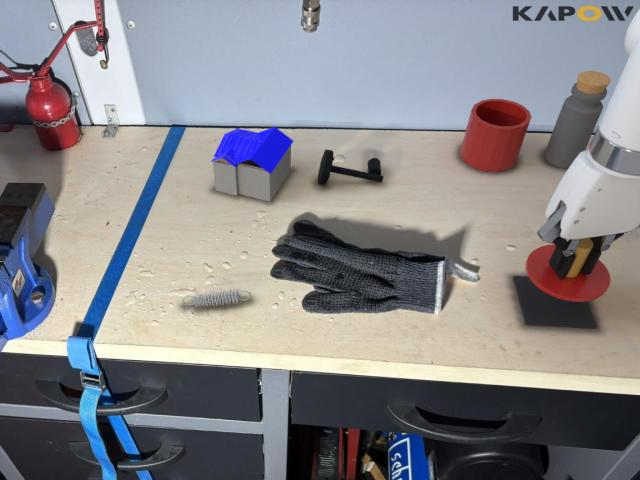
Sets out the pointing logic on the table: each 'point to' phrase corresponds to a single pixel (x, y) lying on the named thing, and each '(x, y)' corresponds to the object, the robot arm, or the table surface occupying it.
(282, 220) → the table surface
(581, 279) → the tin lid
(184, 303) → the spring
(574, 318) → the mat
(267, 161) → the house
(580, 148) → the bottle
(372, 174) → the light fixture
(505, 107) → the tin
